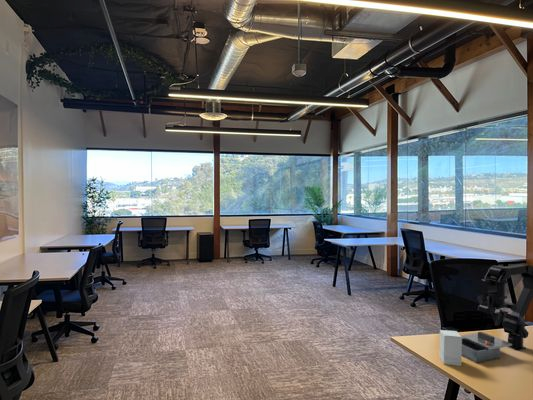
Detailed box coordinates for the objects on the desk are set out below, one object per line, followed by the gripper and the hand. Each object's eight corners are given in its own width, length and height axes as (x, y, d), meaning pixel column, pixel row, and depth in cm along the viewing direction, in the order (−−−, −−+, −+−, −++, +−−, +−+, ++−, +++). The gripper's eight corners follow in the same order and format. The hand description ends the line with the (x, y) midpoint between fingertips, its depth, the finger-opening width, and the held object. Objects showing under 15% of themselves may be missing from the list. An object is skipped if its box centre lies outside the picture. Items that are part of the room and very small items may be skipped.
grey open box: (472, 346, 178) (472, 336, 178) (499, 358, 165) (499, 347, 165) (450, 350, 173) (450, 339, 173) (476, 363, 160) (477, 351, 160)
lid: (483, 333, 181) (483, 327, 181) (512, 345, 167) (512, 338, 167) (461, 337, 176) (461, 330, 176) (488, 349, 162) (489, 342, 162)
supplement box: (461, 366, 157) (462, 337, 157) (443, 364, 158) (443, 335, 158) (456, 358, 164) (457, 330, 164) (438, 357, 166) (439, 329, 165)
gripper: (496, 287, 184) (495, 318, 184) (468, 290, 178) (467, 321, 178) (518, 293, 174) (517, 325, 174) (489, 296, 167) (488, 330, 168)
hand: (496, 325), depth 174 cm, fingers closed
